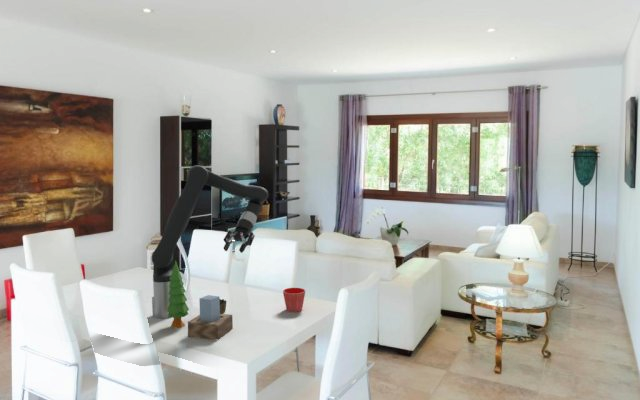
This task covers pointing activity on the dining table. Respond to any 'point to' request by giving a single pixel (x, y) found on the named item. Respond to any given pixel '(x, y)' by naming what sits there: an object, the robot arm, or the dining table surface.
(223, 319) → the square wooden tray
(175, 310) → the decorative tree
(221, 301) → the cup
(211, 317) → the blue-grey square-topped block
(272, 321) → the dining table surface
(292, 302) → the flower pot
